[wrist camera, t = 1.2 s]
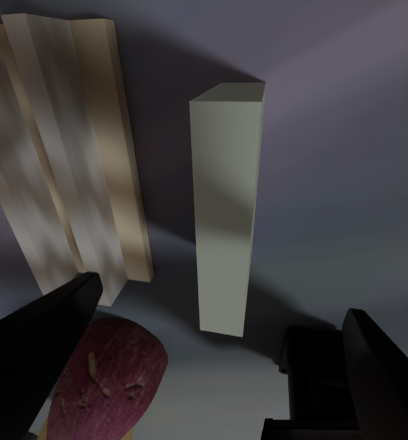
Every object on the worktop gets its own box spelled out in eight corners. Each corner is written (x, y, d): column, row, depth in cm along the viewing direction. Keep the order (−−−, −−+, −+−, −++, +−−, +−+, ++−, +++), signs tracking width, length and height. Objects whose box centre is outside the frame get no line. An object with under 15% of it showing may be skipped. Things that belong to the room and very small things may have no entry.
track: (154, 274, 24) (135, 310, 20) (54, 260, 26) (22, 291, 22) (113, 20, 14) (65, 10, 11) (-39, 29, 16) (-119, 22, 13)
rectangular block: (251, 257, 21) (242, 337, 15) (220, 253, 21) (200, 329, 15) (266, 82, 14) (261, 102, 9) (221, 82, 15) (189, 101, 9)
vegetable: (162, 355, 36) (119, 519, 26) (85, 334, 35) (10, 498, 25) (182, 333, 28) (133, 555, 19) (84, 304, 27) (-25, 527, 17)
